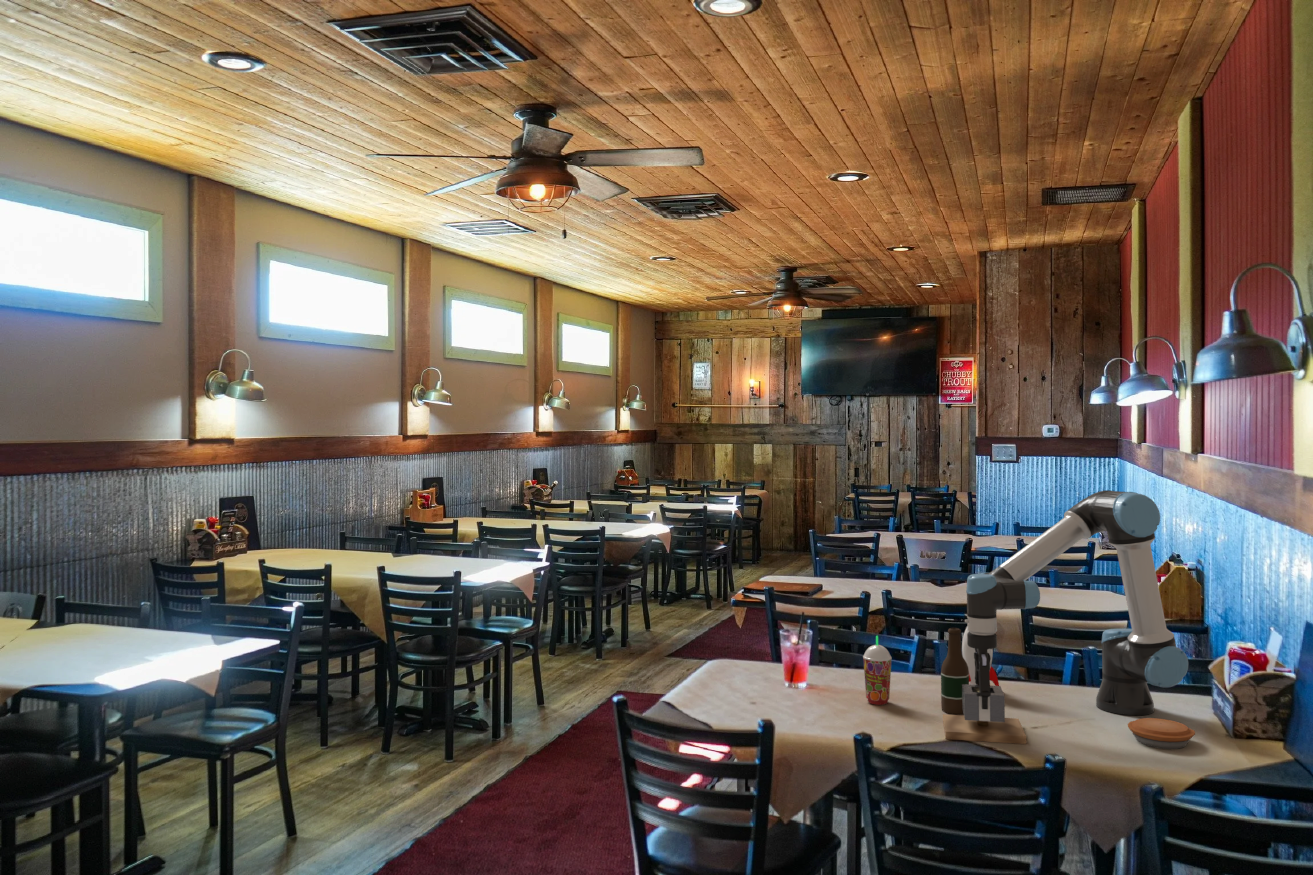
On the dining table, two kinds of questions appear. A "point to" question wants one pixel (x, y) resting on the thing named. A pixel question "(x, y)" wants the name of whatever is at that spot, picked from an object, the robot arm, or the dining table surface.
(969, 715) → the grey square socket block
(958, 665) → the beer bottle
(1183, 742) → the pie
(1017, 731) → the board
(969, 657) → the rocket
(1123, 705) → the robot arm
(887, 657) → the smoothie
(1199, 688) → the dining table surface
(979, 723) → the post
